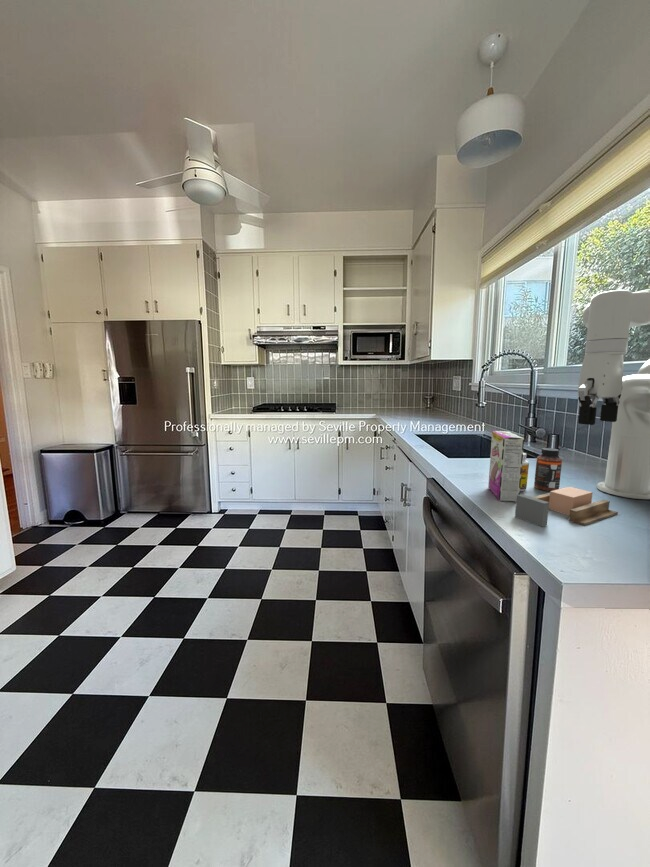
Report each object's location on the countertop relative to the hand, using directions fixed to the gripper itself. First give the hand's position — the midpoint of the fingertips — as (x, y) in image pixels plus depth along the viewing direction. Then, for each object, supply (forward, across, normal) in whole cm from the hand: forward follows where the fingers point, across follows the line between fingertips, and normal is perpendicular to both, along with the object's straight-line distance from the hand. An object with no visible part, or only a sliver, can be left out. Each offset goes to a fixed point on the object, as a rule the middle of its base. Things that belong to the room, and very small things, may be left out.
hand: (597, 422), depth 82 cm
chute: (+20, +9, 0) cm, 22 cm away
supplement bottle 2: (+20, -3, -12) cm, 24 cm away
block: (+20, +8, 0) cm, 22 cm away
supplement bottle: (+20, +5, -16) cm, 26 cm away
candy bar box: (+20, +13, -14) cm, 28 cm away
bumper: (+20, +23, 0) cm, 31 cm away
